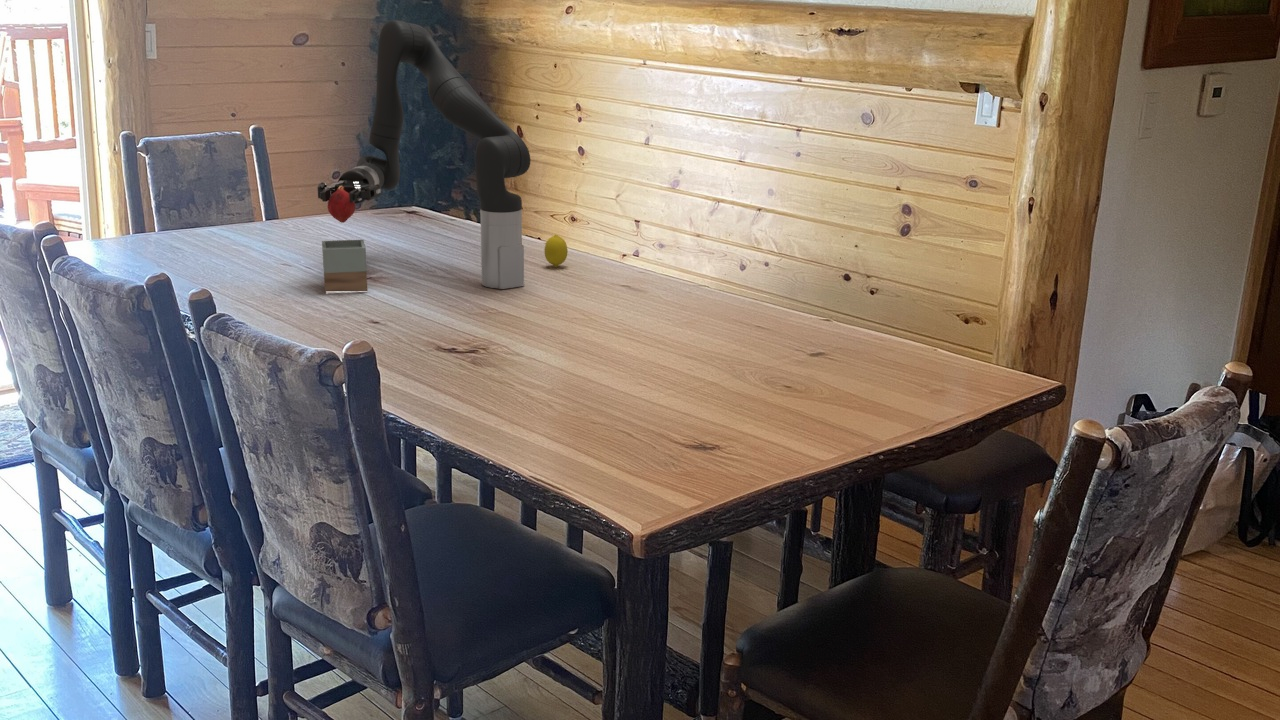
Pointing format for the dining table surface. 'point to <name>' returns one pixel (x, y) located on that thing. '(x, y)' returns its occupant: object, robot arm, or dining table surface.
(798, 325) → the dining table surface
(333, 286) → the tower base
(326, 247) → the tower top
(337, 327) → the dining table surface
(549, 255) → the lemon
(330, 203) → the onion
